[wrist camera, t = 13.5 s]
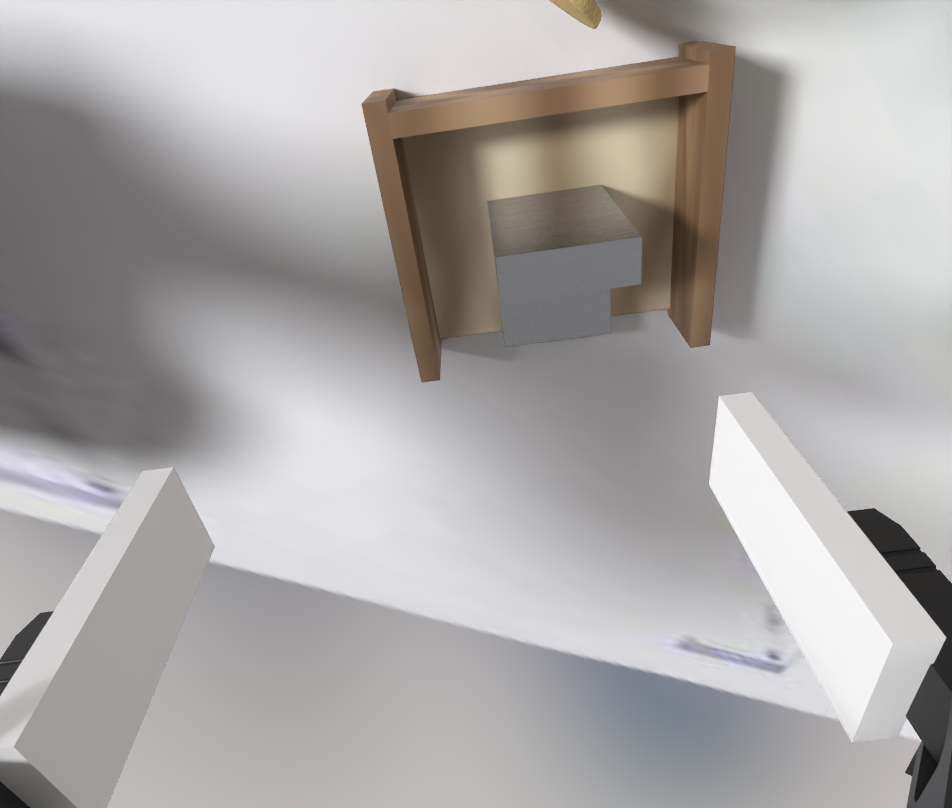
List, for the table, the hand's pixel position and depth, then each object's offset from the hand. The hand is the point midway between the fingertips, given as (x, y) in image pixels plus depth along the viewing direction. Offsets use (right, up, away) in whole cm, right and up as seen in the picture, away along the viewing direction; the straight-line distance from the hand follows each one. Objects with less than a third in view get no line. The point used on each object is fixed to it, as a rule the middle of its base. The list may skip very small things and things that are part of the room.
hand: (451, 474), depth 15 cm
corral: (+5, +13, +24) cm, 28 cm away
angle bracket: (+5, +11, +25) cm, 28 cm away
